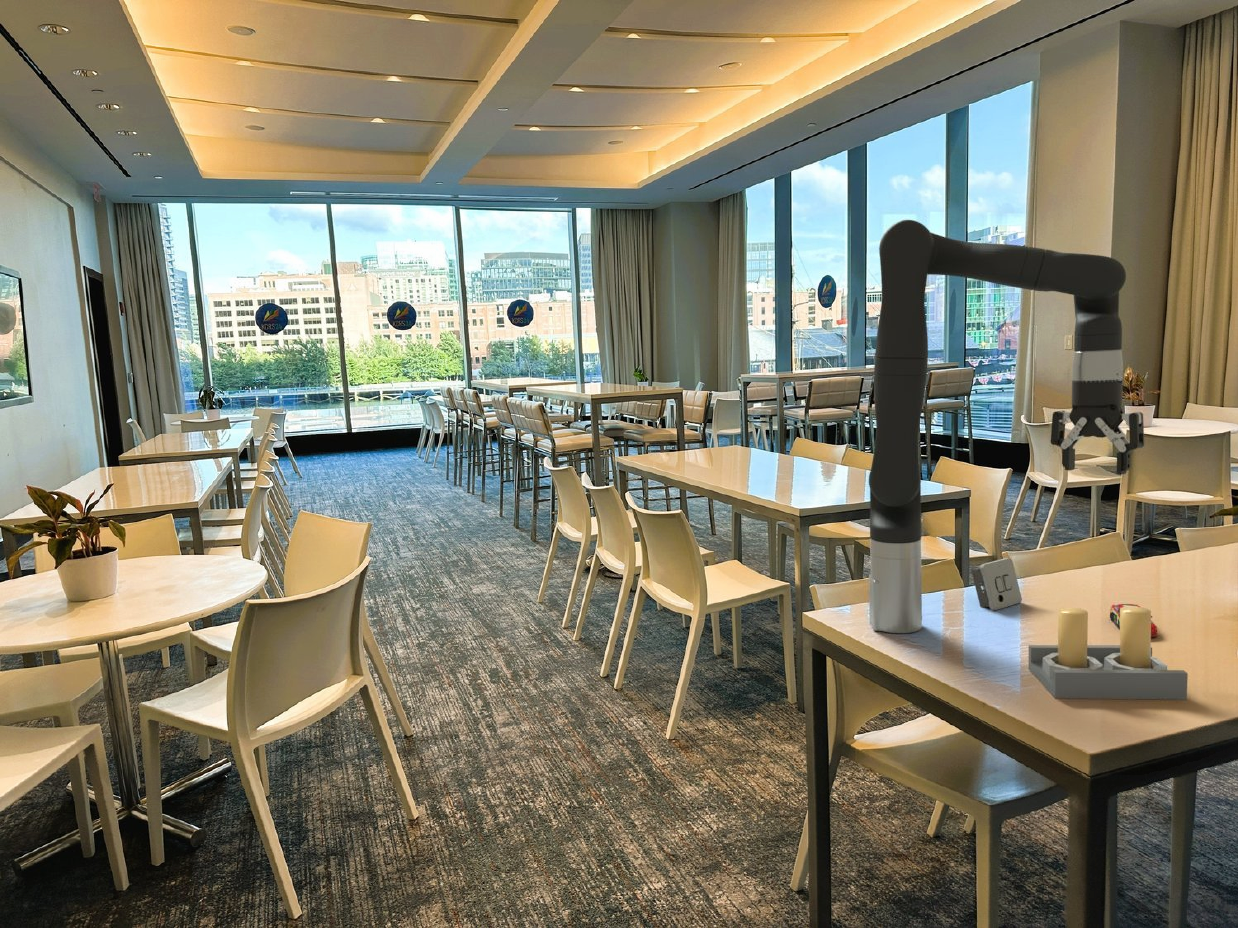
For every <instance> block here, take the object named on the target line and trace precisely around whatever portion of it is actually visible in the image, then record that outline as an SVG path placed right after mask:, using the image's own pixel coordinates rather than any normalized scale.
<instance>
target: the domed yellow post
mask: <svg viewBox="0 0 1238 928" xmlns="http://www.w3.org/2000/svg"><path fill="white" fill-rule="evenodd" d="M1151 616H1152V611H1151V610H1150V609H1149V608H1145V607H1142V606H1140V607H1122V608H1120V629H1119V645H1120V665H1124V666H1128V667H1132V668H1151V647H1152V645H1151V643H1152V637H1151V621H1152V618H1151Z"/></svg>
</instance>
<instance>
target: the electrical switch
mask: <svg viewBox="0 0 1238 928" xmlns="http://www.w3.org/2000/svg"><path fill="white" fill-rule="evenodd" d="M971 574H972V579H973V583H974V587H975V590H976V591H975V592H976V594H977V599H978V603H979V606H980V607H981V608H983V607H989V609H990V610H991V611H997V610H1000V609H1003V608H1007V607H1010V606H1014V605H1016V604H1020V603H1022V600H1023V597H1022V594H1021V589H1020V586H1019V582H1018V578H1017V574H1016V570H1015V567H1014V563H1013V559H1012V558H1011V557H1005V558H1002V559H996V560H994V561H990V562H986V563H983V564H980V565H979V567H976V568H971Z"/></svg>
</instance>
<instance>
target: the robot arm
mask: <svg viewBox="0 0 1238 928" xmlns="http://www.w3.org/2000/svg"><path fill="white" fill-rule="evenodd" d="M878 252H879V262H880V263H879V265H880V277H881V280H880V281H881V282H880V283H881V303H880V305H881V306H880V312H879V318H878V325H877V333H876V341H875V352H874V364H873V365H874V367H873V396H874V412H875V413H874V414H875V426H876V429H875V442H874V449H873V455H872V462H871V468H870V472H869V475H868V485H869V504H870V509H869V511H870V513H869V542H870V545H869V546H870V550H869V551H870V553H869V554H870V556H869V557H870V573H869V575H868V597H869V598H868V600H869V603H868V604H869V606H868V607H869V622H870V625H871V628H872V629H873V631H877V632H885V633H892V634H908V633H915V632H918V631H920V630H921V629H922V627H923V623H922V622H923V611H922V610H923V609H922V607H923V604H922V603H923V602H922V601H923V599H922V597H923V596H922V594H923V593H922V586H923V585H922V509H921V508H922V505H921V504H922V497H921V496H922V493H921V491H922V486H921V484H922V483H921V482H922V477H921V470H920V461H919V429H920V422H921V417H922V412H923V407H924V401H925V394H926V387H927V380H928V379H927V377H928V364H929V363H928V361H929V359H928V358H929V342H928V341H929V340H928V339H929V337H928V325H927V318H926V306H925V299H926V297H925V295H926V287H927V280H928V275H929V276H930V275H934V276H937V275H938V276H951V277H957V278H958V277H960V278H966V279H971V280H977V281H980V282H981V281H982V282H987V283H991V284H997V285H1001V286H1006V287H1011V288H1017V289H1022V290H1028V291H1036V292H1047V293H1048V292H1055V293H1056V292H1057V293H1061V294H1068V295H1070V296H1071V295H1072V296H1073V305H1074V306H1073V307H1074V316H1075V325H1074V332H1073V333H1074V336H1073V337H1074V339H1073V340H1074V341H1073V342H1074V343H1073V344H1074V346H1073V347H1074V348H1073V349H1074V350H1073V357H1072V358H1073V359H1072V365H1071V407H1072V408H1071V411H1069V412H1068V411H1067V412H1066V411H1065V410H1057V411H1054V412H1053V413H1052V419H1051V420H1052V421H1051V433H1050V444H1051V445H1053V446H1057V447H1059V448H1061V466H1062V468H1064V470H1065V471H1074V470H1075V468H1076V448H1074V447H1075V446H1076V444H1077V443H1078V442H1079V441H1080V440H1081V439H1083V438H1091V437H1095V438H1102V439H1103V438H1107V439H1108V441H1110V442H1111V443H1113V445H1114V446H1115V448H1116V449H1118V452H1116V475H1120V476H1121V475H1126V474H1127V473H1128V471H1130V470H1131V460H1132V459H1131V458H1132V456H1131V454H1132V451H1134V450H1137V449H1140V448H1141V449H1142V448H1143V447H1145V432H1144V431H1145V429H1144V414H1143V413H1142V412H1141V411H1134V412H1131V413H1130V412H1129V413H1124V412H1123V407H1122V405H1123V387H1124V386H1123V381H1124V380H1123V378H1124V375H1125V374H1124V359H1123V351H1122V346H1123V345H1122V344H1123V343H1122V340H1123V326H1122V319H1121V318H1120V316H1119V309H1120V308H1119V307H1120V306H1119V305H1120V291H1121V290H1122V288H1123V287H1124V285H1125V282H1126V279H1127V274H1126V269H1125V267H1124V266H1123V264H1122V263H1121V262H1120V261H1119V260H1117V259H1115V258H1113V257H1111V256H1110V257H1109V256H1105V255H1100V254H1099V255H1097V254H1088V253H1077V252H1076V253H1074V252H1060V251H1057V250H1052V249H1047V248H1046V249H1045V248H1040V247H1034V246H1027V245H1020V244H1019V245H1017V244H1005V243H987V242H986V243H984V242H971V241H964V240H959V239H954V238H949V237H946V236H942V235H940V234H937V233H934V232H931V231H930V230H929V229H928V228H927V227H926V226H925V224H923V223H921V222H919V221H916V220H913V219H903V220H899V221H897V222H895V223H893V224H892V225H891V226H889V228H887V229H886V231H885V232H884V233H883V235H882V237H881V239H880V242H879V246H878ZM1069 420H1070V421H1071V423H1072V424H1073V428H1072V429H1071V430H1070V431H1069V432H1068V434H1067V435H1066V437H1065V432H1066V424H1068V422H1069ZM1123 422H1125V424H1126V426H1128V428H1129V440H1128V439H1127V436H1126V434H1125V432H1124V431H1123V430H1122V429H1121V427H1120V425H1121V424H1122V423H1123Z"/></svg>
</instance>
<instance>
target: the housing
mask: <svg viewBox="0 0 1238 928" xmlns="http://www.w3.org/2000/svg"><path fill="white" fill-rule="evenodd" d="M1057 611H1058V614H1057V618H1058V620H1057V621H1058V622H1057V632H1058V633H1057V644H1051V645H1050V644H1046V645H1045V644H1038V645H1036V644H1029V645H1028V664H1027V665H1028V670H1029V672H1031V673H1032V674H1033V676H1034V677H1035V678H1036V679H1037V680H1038V681H1039V682H1040V684H1042V685H1043V686H1044V688H1045V689H1046V690H1047V691H1048V693H1050V694H1051V696H1052V697H1054V699H1083V700H1085V699H1086V700H1088V699H1089V700H1090V699H1091V700H1093V699H1094V700H1097V699H1099V700H1101V699H1102V700H1109V699H1110V700H1176V701H1177V700H1182V701H1183V700H1186V701H1187V700H1188V678H1189V677H1188V676H1189V675H1188V672H1187V671H1185V670H1183V669H1168V665H1167V664H1166V663H1165V662H1163V661H1162V660H1160V658H1157V657H1155V656H1153V647H1152V646H1151V668H1132V667H1128V666H1124V665H1120V644H1118V645H1117V644H1104V645H1103V644H1101V645H1100V644H1094V645H1093V644H1088V636H1089V635H1088V634H1089V633H1088V631H1089V628H1088V627H1089V624H1088V622H1089V612H1088V611H1087V610H1085V609H1082V608H1078V607H1070V606H1069V607H1067V606H1066V607H1061V608H1059V609H1058V610H1057Z"/></svg>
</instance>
